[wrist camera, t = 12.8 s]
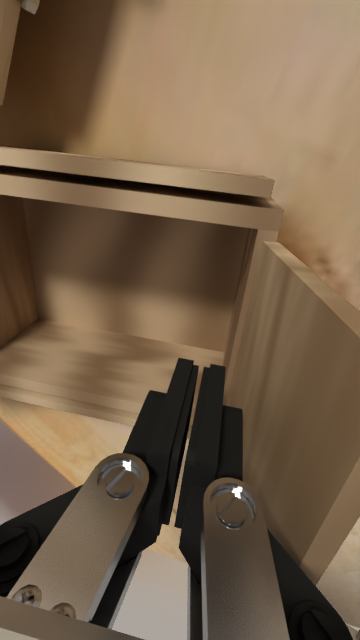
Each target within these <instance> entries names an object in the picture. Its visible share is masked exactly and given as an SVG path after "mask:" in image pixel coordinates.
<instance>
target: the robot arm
mask: <svg viewBox="0 0 360 640" xmlns="http://www.w3.org/2000/svg"><path fill="white" fill-rule="evenodd" d="M193 364H194V360H189V359H184V358H178V361H177V364H176V367H175V370H174V373H173V376H172V379H171V382H170V385H169V388H168V390H167V393H163V392H158V391H153V390H150V391H149V392H148V394H147V396H146V399H145V401H144V403H143V406H142V408H141V411H140V413H139V415H138V418H137V420H136V422H135V425H134V427H133V430H132V432H131V434H130V437H129V439H128V441H127V444H126V446H125V449H124V451H123V453H117V454H114V455H110V456H108V457H106V458H105V459H103V460H102V461H101V462H100V463H99V464H98V465H97V466H96V467H95V468H94V470H93V471H92V473H91V474H90V476H89V477H88V479H87V480H86V482H85V483H84V484H83V485H81V486H79V487H77V488H75V489H73V490H71V491H69V492H67V493H65V494H63V495H60V496H58V497H56V498H54V499H52V500H50V501H48V502H46V503H44V504H42V505H40V506H38V507H36V508H34V509H32V510H30V511H27V512H25V513H23V514H21V515H19V516H17V517H15V518H13V519H11V520H9V521H7V522H5V523H3V524H2V525H0V640H143V639H140V638H137V637H134V636H131V635H127V634H124V633H120V632H117V631H114V630H111V629H112V627H113V624H114V622H115V619H116V617H117V614H118V612H119V610H120V607H121V605H122V602H123V600H124V597H125V595H126V592H127V590H128V587H129V585H130V582H131V580H132V578H133V575H134V573H135V570H136V568H137V565H138V563H139V560H140V558H141V554H142V551H143V550H144V549H146V548H147V547H149V546H150V545H152V544H153V543H155V542H156V539H157V535H158V536H159V534H160V530H161V525H162V524H165V525H169V522H170V517H171V512H172V507H173V503H174V498H175V493H176V488H177V483H178V479H179V474H180V469H181V464H182V459H183V454H184V450H185V445H186V440H187V435H188V430H189V425H190V419H191V413H192V407H193V401H194V394H195V388H196V382H197V376H198V370H199V366H198V365H193ZM225 373H226V367H225V366H220V365H215V364H210V368H209V367H204V368H203V373H202V379H201V384H200V389H199V394H198V399H197V404H196V409H195V414H194V419H193V424H192V429H191V435H190V440H189V445H188V450H187V455H186V461H185V466H184V472H183V478H182V485H181V491H180V497H179V503H178V509H177V515H176V521H175V527H177V528H181V529H182V530H181V536H180V544H179V549H180V551H181V552H182V554H183V556H184V557H185V559H186V561H187V563H188V564H189V566H188V617H187V619H188V621H187V622H188V623H187V640H360V630H359V631H357V630H355V629H353V628H351V627H350V626H348V625H346V624H345V623H344V621H343V620H342V618H341V617H340V615H339V614H338V613H337V611H336V610H335V609H334V608H333V607H332V605H331V604H330V603H329V602H328V601H327V599H326V598H325V597H324V596H323V595H322V594H321V592H320V591H319V590H318V589H317V588H316V586H315V585H314V584H313V583H312V582H311V580H310V579H309V578H308V577H307V576H306V574H305V573H304V572H303V571H302V570H301V568H300V567H299V566H298V565H297V564H296V562H295V561H294V560H293V559H292V558H291V556H290V555H289V554H288V553H287V552H286V550H285V549H284V548H283V547H282V546H281V544H280V543H279V542H278V541H277V540H276V538H275V537H274V536H273V535H272V534H271V532H270V531H269V530H268V529H267V526H266V521H265V516H264V511H263V507H262V504H261V501H260V499H259V497H258V496H257V494H256V493H255V491H254V490H253V489H252V488H251V487H250V486H248V485H247V484H246V483H244V482H243V410H242V409H240V408H235V407H230V406H225V405H223V396H224V384H225Z"/></svg>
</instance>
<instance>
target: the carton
mask: <svg viewBox="0 0 360 640" xmlns="http://www.w3.org/2000/svg"><path fill="white" fill-rule="evenodd" d="M273 185H274V180H272V179H270V178H267V177H265V176H261V175H252V174H244V173H235V172H226V171H218V170H209V169H200V168H191V167H183V166H174V165H165V164H157V163H148V162H139V161H131V160H122V159H113V158H104V157H96V156H87V155H78V154H70V153H61V152H52V151H43V150H35V149H26V148H17V147H7V146H0V397H2V398H7V399H12V400H16V401H21V402H25V403H30V404H34V405H39V406H43V407H48V408H53V409H57V410H62V411H66V412H71V413H75V414H80V415H85V416H89V417H94V418H98V419H103V420H107V421H112V422H116V423H121V424H126V425H130V426H134V425H135V422H136V420H137V418H138V415H139V413H140V411H141V408H142V406H143V403H144V401H145V399H146V396H147V394H148V392H149V391H150V390H153V391H158V392H163V393H167V390H168V388H169V385H170V382H171V379H172V376H173V373H174V370H175V367H176V364H177V361H178V358H184V359H189V360H194V364H193V365H198V366H199V370H198V376H197V382H196V388H195V394H194V401H193V407H192V413H191V419H190V425H189V430H188V435H187V438H189V439H190V435H191V429H192V424H193V419H194V414H195V409H196V404H197V399H198V394H199V389H200V384H201V379H202V373H203V368H204V367H209V368H210V364H215V365H220V366H225V367H226V373H225V384H224V396H223V405H225V406H226V403H227V398H228V394H229V389H230V385H231V380H232V376H233V371H234V367H235V363H236V358H237V354H238V349H239V345H240V340H241V336H242V331H243V327H244V322H245V318H246V314H247V309H248V305H249V300H250V296H251V291H252V287H253V282H254V278H255V274H256V269H257V265H258V260H259V256H260V251H261V247H262V242H263V241H268V242H276V241H277V237H278V233H279V229H280V224H281V220H282V216H283V212H284V210H283V209H282V208H281V207H280V206H279V205H278V204H277V203H276V202H275V201H274V200H273V199H272V198H271V194H272V190H273Z"/></svg>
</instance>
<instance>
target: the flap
mask: <svg viewBox="0 0 360 640" xmlns="http://www.w3.org/2000/svg"><path fill="white" fill-rule="evenodd" d="M226 406H230V407H235V408H240V409H242V410H243V482H244V483H246V484H247V485H248V486H250V487H251V488H252V489H253V490H254V491H255V493H256V494H257V496H258V497H259V499H260V501H261V504H262V507H263V511H264V516H265V521H266V526H267V529H268V530H269V531H270V532H271V534H272V535H273V536H274V537H275V538H276V540H277V541H278V542H279V543H280V544H281V546H282V547H283V548H284V549H285V550H286V552H287V553H288V554H289V555H290V556H291V558H292V559H293V560H294V561H295V562H296V564H297V565H298V566H299V567H300V568H301V570H302V571H303V572H304V573H305V574H306V576H307V577H308V578H309V579H310V580H311V582H312V583H313V584H314V585H315V586H316V584H317V583H318V581H319V579H320V578H321V576H322V575H323V573H324V572H325V570H326V568H327V567H328V565H329V564H330V562H331V561H332V559H333V557H334V556H335V554H336V553H337V551H338V550H339V548H340V546H341V545H342V543H343V542H344V540H345V539H346V537H347V536H348V534H349V532H350V531H351V529H352V528H353V526H354V525H355V523H356V521H357V520H358V518H359V517H360V311H359V310H358V309H356V308H355V307H354V306H353V305H352V304H350V303H349V302H348V301H347V300H346V299H345V298H343V297H342V296H341V295H340V294H339V293H338V292H336V291H335V290H334V289H333V288H332V287H330V286H329V285H328V284H327V283H326V282H325V281H323V280H322V279H321V278H320V277H319V276H318V275H316V274H315V273H314V272H313V271H312V270H310V269H309V268H308V267H307V266H306V265H305V264H303V263H302V262H301V261H300V260H299V259H298V258H296V257H295V256H294V255H293V254H292V253H290V252H289V251H288V250H287V249H286V248H285V247H283V246H282V245H281V244H280V243H278V242H268V241H263V242H262V247H261V251H260V256H259V260H258V265H257V269H256V274H255V278H254V282H253V287H252V291H251V296H250V300H249V305H248V309H247V314H246V318H245V322H244V327H243V331H242V336H241V340H240V345H239V349H238V354H237V358H236V363H235V367H234V371H233V376H232V380H231V385H230V389H229V394H228V398H227V403H226Z"/></svg>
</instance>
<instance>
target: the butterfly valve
mask: <svg viewBox="0 0 360 640" xmlns="http://www.w3.org/2000/svg"><path fill="white" fill-rule="evenodd" d="M39 2H40V0H0V105H3V101H4V96H5V90H6V85H7V79H8V74H9V68H10V63H11V57H12V52H13V47H14V41H15V36H16V30H17V25H18V19H19V14H20V9H21V7H22V8H24V9H25V10H27V11H28V12H30V13H32V14H34V15H35V13H36V11H37V9H38V7H39Z"/></svg>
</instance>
